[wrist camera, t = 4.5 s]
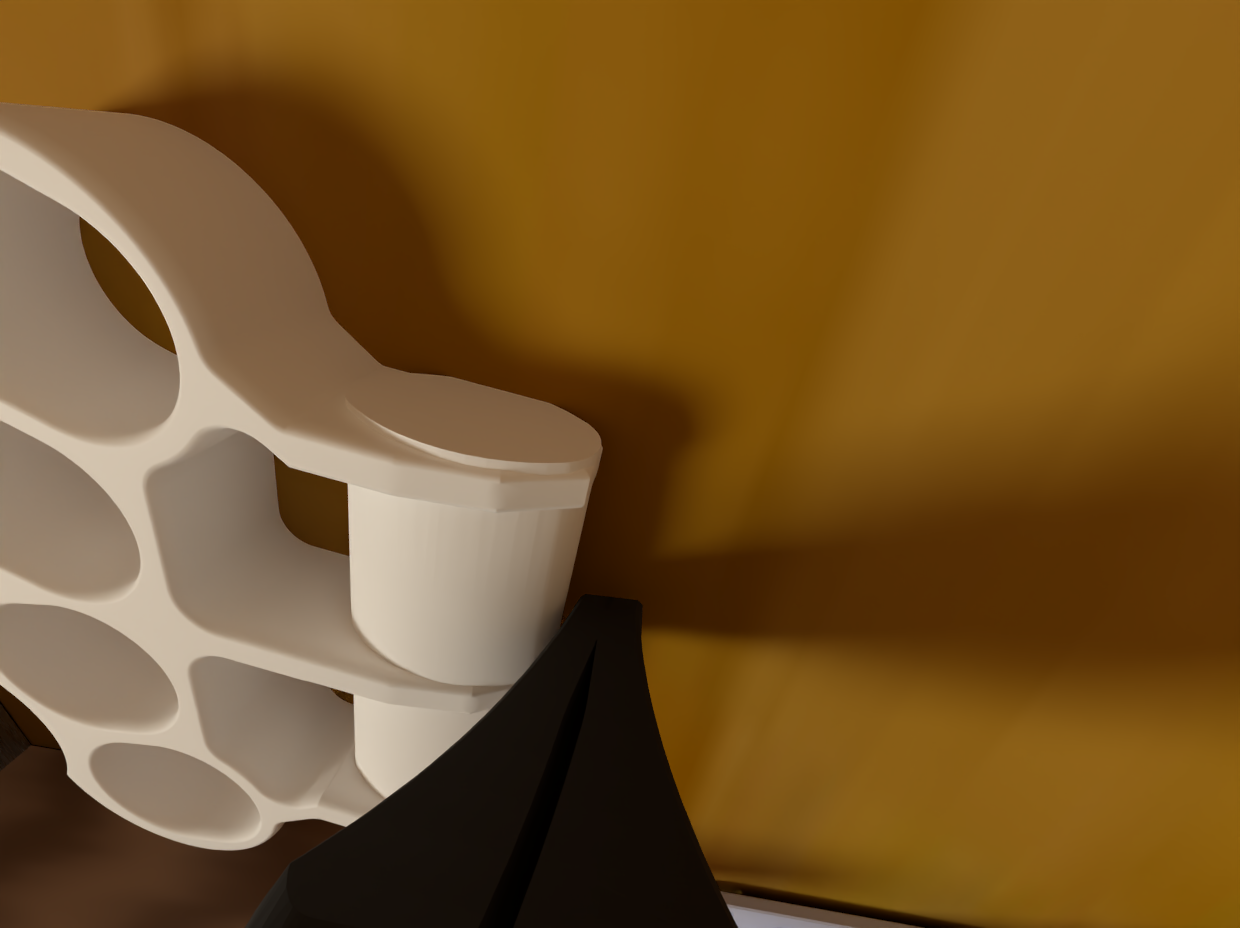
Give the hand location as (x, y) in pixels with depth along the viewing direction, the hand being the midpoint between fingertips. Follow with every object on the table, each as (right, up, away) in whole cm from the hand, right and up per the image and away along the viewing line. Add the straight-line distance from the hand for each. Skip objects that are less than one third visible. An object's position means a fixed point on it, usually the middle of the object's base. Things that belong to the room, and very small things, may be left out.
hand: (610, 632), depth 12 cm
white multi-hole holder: (-8, +2, +2) cm, 9 cm away
